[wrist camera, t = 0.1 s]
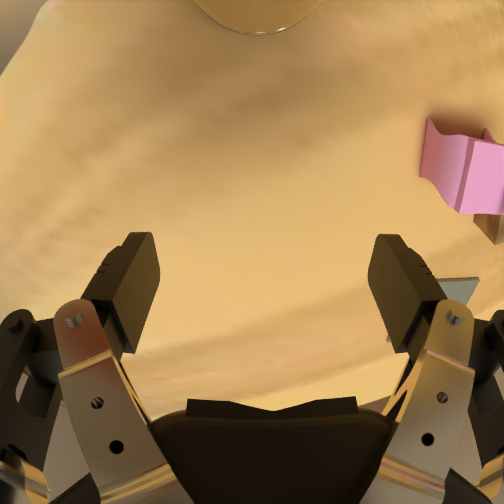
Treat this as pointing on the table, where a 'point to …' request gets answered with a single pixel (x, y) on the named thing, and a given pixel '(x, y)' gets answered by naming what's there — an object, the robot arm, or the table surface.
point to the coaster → (457, 289)
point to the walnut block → (491, 226)
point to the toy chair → (465, 170)
